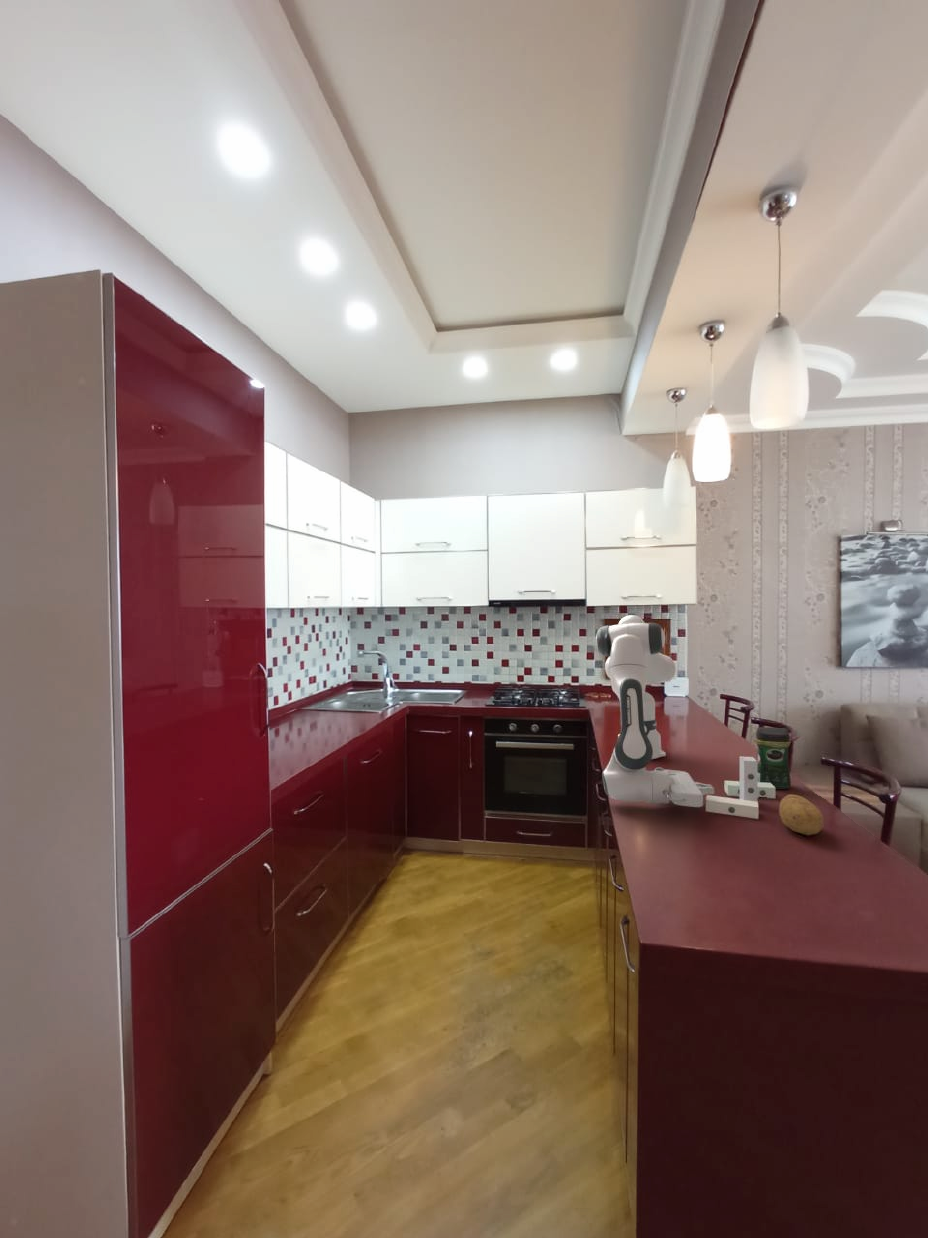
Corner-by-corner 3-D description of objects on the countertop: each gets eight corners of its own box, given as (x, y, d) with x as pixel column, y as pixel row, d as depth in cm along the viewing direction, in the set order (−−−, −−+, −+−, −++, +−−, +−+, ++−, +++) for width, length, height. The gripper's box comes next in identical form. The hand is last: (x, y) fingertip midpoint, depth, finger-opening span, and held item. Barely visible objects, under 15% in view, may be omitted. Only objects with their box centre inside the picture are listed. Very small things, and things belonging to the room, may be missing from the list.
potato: (789, 842, 133) (789, 809, 133) (771, 819, 146) (772, 790, 146) (834, 845, 130) (834, 812, 130) (812, 822, 144) (812, 792, 144)
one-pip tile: (706, 795, 157) (757, 801, 151) (706, 807, 157) (757, 814, 151) (705, 800, 153) (758, 807, 147) (705, 812, 153) (758, 820, 147)
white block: (724, 780, 169) (770, 783, 166) (724, 791, 169) (770, 794, 166) (728, 785, 165) (775, 788, 162) (728, 797, 165) (775, 799, 162)
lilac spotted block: (739, 800, 161) (739, 756, 161) (752, 800, 160) (752, 756, 160) (744, 805, 156) (744, 761, 156) (757, 806, 156) (757, 761, 155)
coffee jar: (787, 783, 175) (787, 726, 174) (793, 791, 167) (793, 731, 167) (753, 780, 178) (753, 724, 178) (757, 788, 171) (757, 729, 170)
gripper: (667, 788, 145) (722, 791, 143) (655, 765, 165) (704, 767, 163) (667, 811, 145) (723, 814, 143) (655, 786, 165) (704, 788, 163)
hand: (713, 789), depth 153 cm, fingers closed
